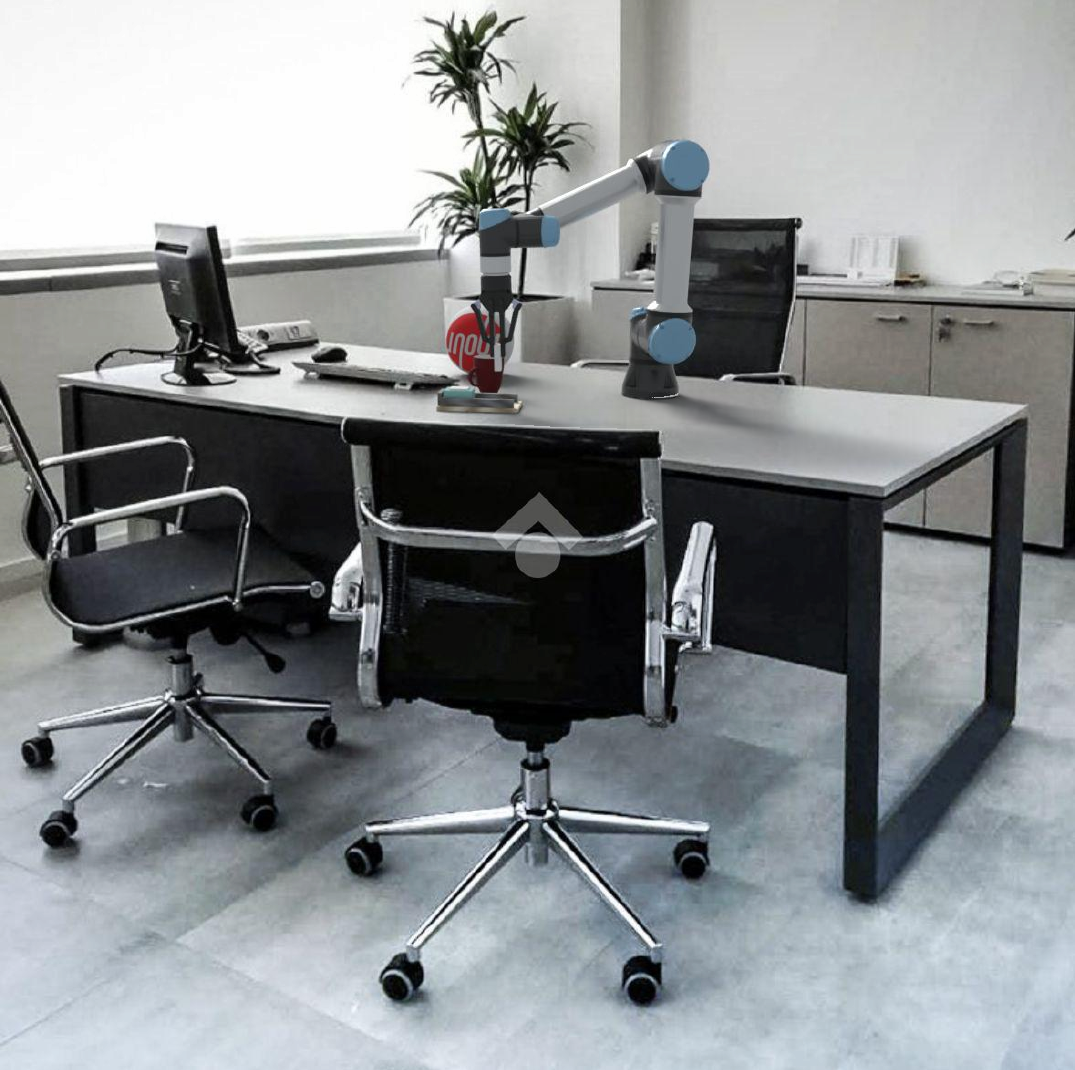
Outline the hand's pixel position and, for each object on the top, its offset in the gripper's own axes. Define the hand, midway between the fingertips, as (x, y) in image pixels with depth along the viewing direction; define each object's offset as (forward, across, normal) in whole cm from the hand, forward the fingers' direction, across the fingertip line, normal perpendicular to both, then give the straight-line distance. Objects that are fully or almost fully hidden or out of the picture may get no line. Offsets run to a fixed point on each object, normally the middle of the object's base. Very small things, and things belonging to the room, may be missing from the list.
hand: (498, 370), depth 327 cm
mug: (+9, +6, -17) cm, 20 cm away
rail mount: (+9, +5, +2) cm, 10 cm away
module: (+8, +10, +2) cm, 13 cm away
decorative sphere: (+10, +11, -50) cm, 52 cm away
